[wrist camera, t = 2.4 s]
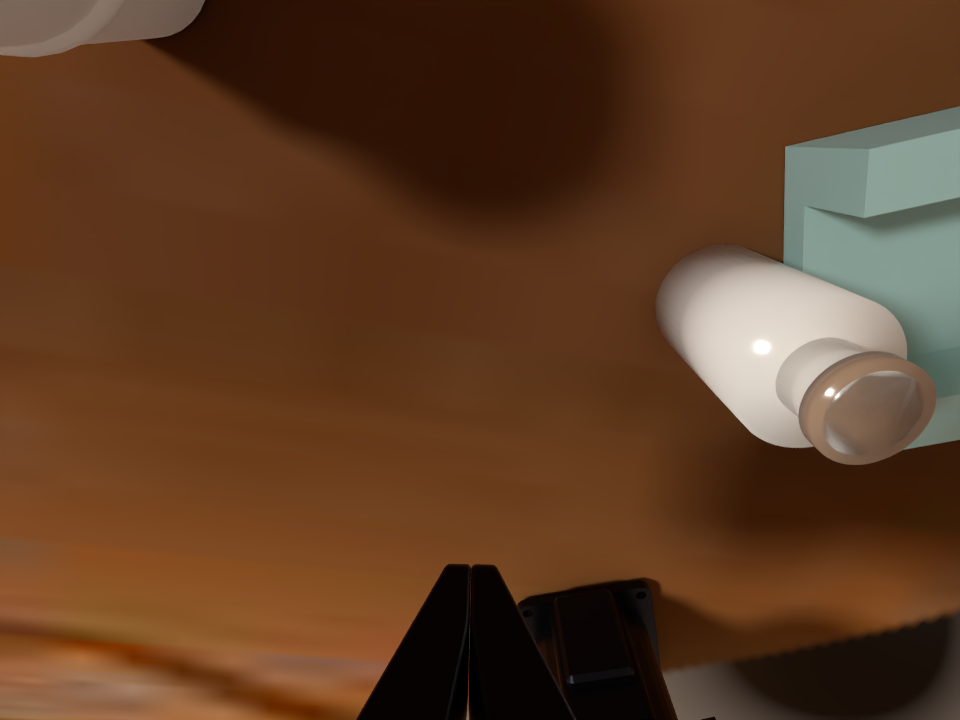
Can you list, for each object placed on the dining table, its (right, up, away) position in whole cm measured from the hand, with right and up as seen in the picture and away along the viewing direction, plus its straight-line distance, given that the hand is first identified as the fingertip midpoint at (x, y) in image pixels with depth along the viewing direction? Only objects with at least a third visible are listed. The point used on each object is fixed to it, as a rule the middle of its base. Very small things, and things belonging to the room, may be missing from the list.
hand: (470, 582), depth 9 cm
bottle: (+9, +6, +11) cm, 15 cm away
